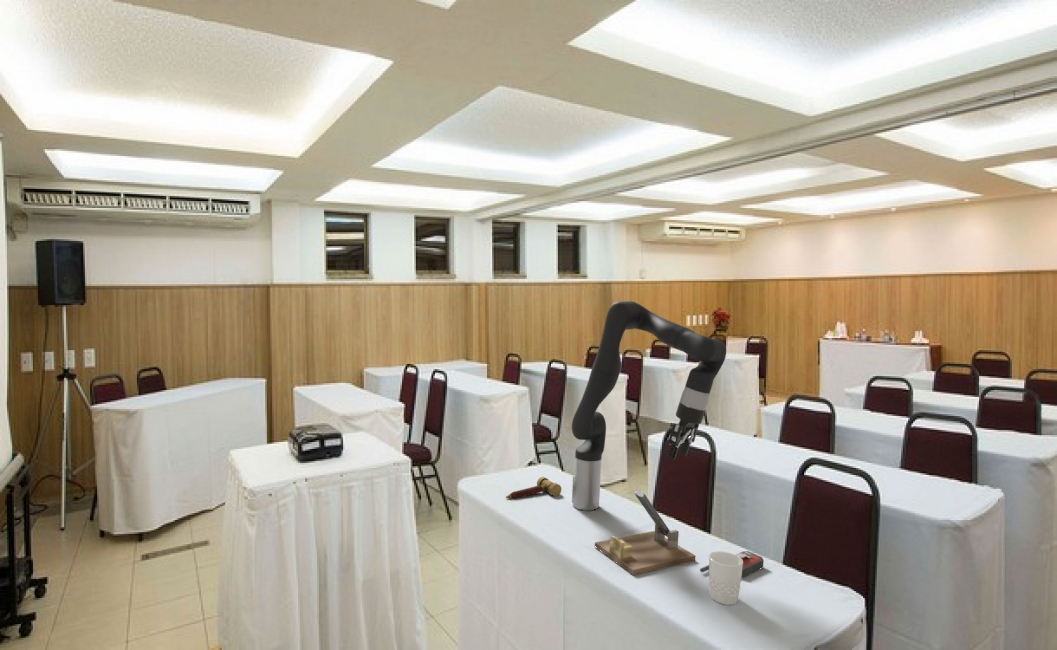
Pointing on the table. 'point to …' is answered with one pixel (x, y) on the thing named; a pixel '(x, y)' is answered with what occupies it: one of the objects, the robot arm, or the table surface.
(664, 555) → the latch board
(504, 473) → the table surface
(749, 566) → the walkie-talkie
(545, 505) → the table surface
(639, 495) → the strap
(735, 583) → the white cup
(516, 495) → the gavel
